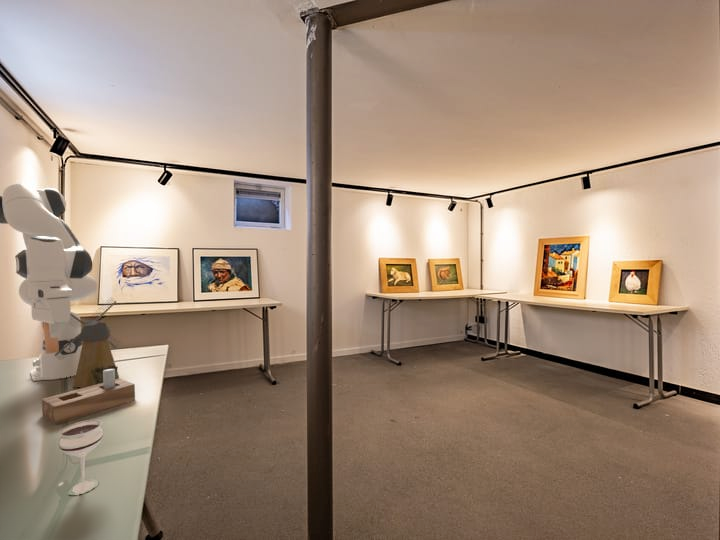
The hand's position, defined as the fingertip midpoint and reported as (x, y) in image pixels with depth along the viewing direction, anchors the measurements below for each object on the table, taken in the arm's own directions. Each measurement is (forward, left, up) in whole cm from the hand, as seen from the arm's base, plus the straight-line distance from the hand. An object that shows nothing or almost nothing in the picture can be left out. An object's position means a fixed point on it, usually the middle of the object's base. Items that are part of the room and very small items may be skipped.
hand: (51, 336), depth 106 cm
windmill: (-16, +17, -22) cm, 32 cm away
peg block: (+9, +6, -22) cm, 24 cm away
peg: (0, 0, -5) cm, 5 cm away
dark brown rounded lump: (-2, +14, -22) cm, 26 cm away
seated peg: (+9, +11, -22) cm, 26 cm away
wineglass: (+52, -11, -22) cm, 57 cm away
